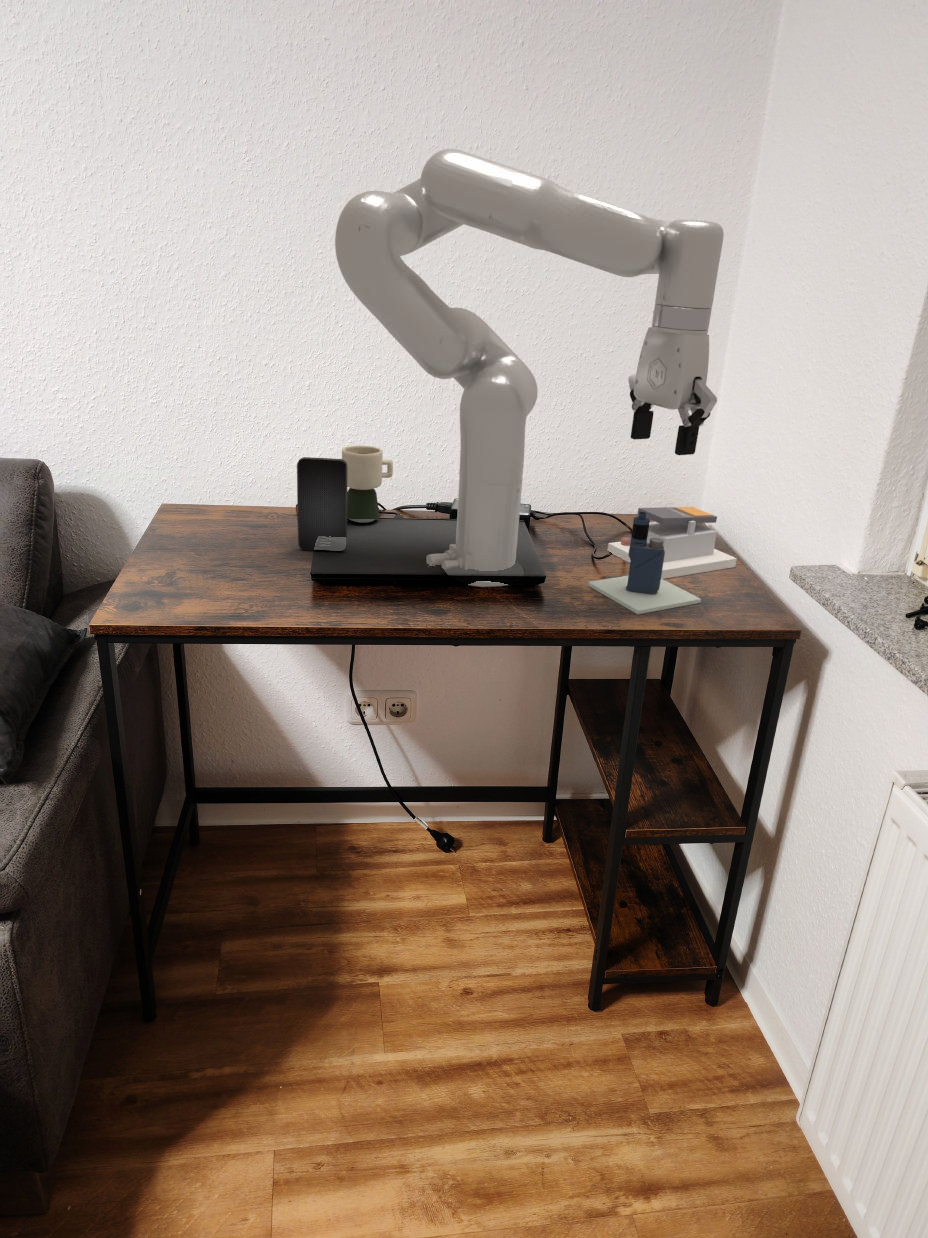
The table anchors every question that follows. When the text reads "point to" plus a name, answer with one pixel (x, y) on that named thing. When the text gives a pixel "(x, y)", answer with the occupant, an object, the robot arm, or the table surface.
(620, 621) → the table surface
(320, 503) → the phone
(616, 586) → the mat
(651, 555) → the vaping device
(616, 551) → the white rocker switch base
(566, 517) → the table surface
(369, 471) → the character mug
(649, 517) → the plate
